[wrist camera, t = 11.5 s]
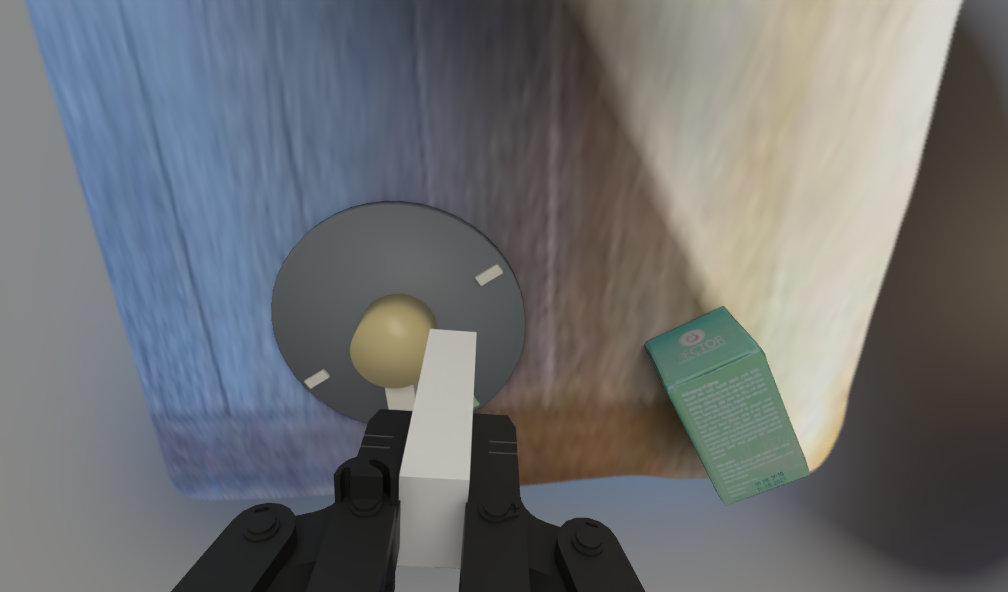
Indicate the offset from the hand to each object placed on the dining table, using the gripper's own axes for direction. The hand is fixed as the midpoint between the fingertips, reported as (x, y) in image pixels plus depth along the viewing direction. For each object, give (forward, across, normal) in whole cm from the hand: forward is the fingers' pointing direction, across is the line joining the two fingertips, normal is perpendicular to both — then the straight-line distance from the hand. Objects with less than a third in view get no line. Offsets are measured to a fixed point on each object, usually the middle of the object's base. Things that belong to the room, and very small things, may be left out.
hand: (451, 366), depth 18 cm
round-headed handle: (+23, -4, -15) cm, 28 cm away
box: (+25, +22, -15) cm, 36 cm away
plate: (+24, -5, -12) cm, 27 cm away
